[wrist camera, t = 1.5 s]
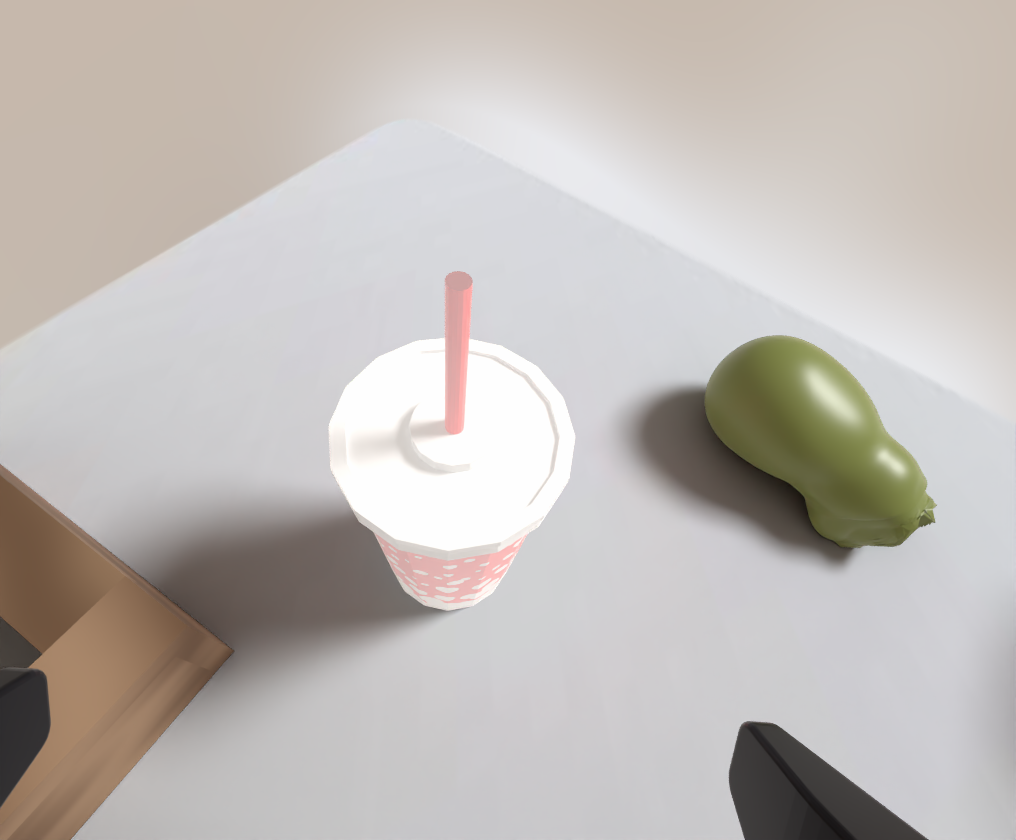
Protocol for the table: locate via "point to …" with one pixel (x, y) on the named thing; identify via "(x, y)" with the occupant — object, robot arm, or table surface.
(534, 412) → the beverage cup
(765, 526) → the table surface
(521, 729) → the table surface
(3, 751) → the robot arm
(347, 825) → the table surface
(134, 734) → the walnut box
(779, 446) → the pear
